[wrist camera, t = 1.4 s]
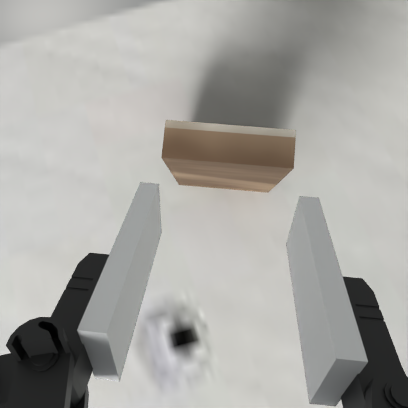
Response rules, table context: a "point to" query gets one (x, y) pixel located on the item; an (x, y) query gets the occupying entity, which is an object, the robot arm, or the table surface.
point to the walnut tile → (228, 155)
